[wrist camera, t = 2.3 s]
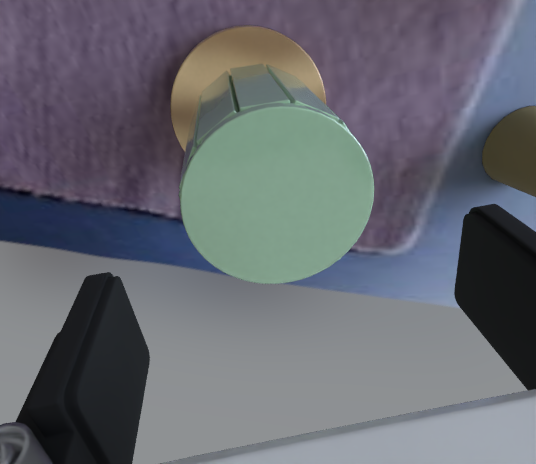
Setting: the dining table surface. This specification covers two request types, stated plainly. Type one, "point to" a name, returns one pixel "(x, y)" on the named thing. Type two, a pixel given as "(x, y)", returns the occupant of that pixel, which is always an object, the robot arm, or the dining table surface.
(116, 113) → the dining table surface
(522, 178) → the olive pawn figure
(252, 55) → the disc
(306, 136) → the green grooved cylinder
